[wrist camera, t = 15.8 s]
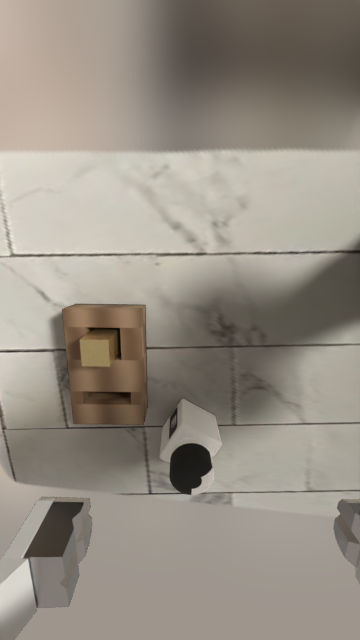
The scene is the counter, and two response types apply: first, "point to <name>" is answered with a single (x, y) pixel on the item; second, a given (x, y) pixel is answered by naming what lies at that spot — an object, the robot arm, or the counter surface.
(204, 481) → the container
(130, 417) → the walnut socket block
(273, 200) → the counter surface
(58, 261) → the counter surface
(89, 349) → the light wooden square bit
